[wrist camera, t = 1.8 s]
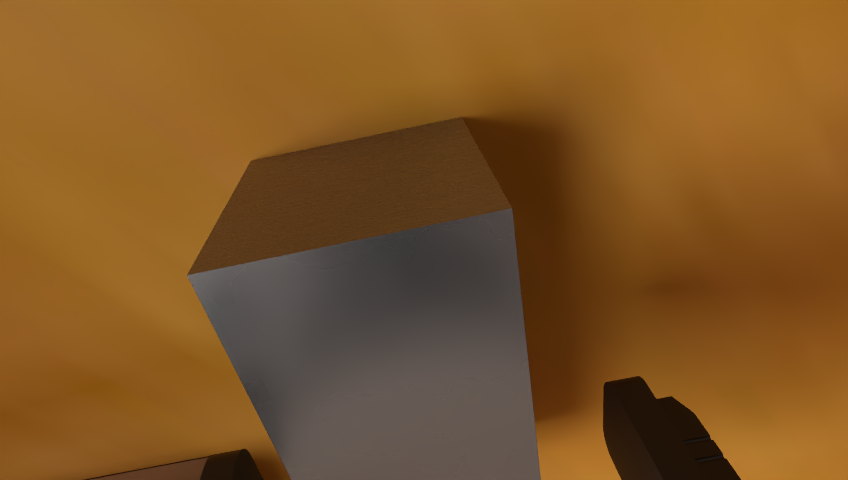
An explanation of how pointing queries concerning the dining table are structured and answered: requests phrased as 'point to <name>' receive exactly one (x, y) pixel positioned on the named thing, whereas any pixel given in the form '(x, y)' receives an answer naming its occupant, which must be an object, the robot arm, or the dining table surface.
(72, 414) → the dining table surface
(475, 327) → the block
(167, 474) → the stand
